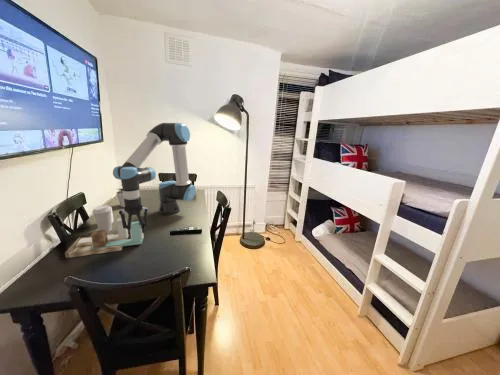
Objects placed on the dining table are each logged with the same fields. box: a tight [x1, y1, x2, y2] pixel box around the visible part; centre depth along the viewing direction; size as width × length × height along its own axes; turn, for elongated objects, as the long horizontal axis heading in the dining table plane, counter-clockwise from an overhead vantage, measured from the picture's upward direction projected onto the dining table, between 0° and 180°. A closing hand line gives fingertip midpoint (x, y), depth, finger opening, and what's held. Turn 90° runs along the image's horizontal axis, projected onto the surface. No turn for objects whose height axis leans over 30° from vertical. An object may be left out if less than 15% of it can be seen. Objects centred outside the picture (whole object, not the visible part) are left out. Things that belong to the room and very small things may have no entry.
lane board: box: [64, 233, 125, 259], centre depth 112 cm, size 23×16×3 cm
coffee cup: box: [92, 204, 113, 233], centre depth 127 cm, size 10×10×15 cm
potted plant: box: [115, 184, 125, 208], centre depth 168 cm, size 13×14×20 cm
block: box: [90, 230, 108, 248], centre depth 108 cm, size 5×5×7 cm
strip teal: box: [90, 220, 144, 249], centre depth 110 cm, size 23×5×11 cm, turn 109°
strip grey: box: [77, 217, 129, 244], centre depth 114 cm, size 23×5×11 cm, turn 109°
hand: (137, 238), depth 114 cm, fingers closed on strip teal, 4 cm apart
